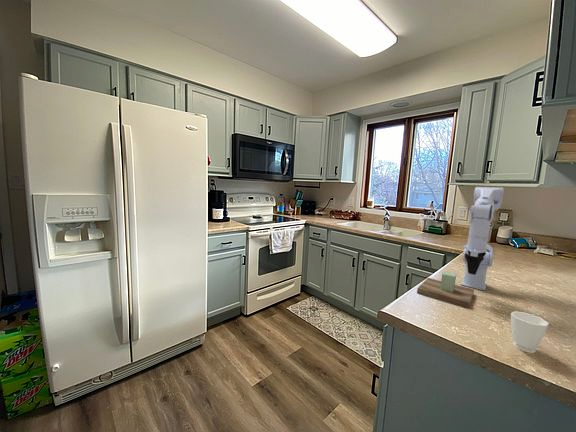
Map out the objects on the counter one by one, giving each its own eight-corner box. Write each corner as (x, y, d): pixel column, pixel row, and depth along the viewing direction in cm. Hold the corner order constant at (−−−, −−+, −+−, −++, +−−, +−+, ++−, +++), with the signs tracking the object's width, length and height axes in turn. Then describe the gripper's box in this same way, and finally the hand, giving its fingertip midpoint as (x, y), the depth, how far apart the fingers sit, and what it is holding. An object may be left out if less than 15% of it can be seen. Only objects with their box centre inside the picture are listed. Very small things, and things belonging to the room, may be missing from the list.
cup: (507, 348, 62) (513, 318, 61) (502, 330, 70) (507, 304, 69) (547, 361, 57) (553, 329, 56) (536, 340, 66) (542, 312, 65)
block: (442, 286, 96) (444, 271, 95) (454, 289, 93) (456, 274, 93) (440, 288, 93) (442, 273, 92) (452, 292, 90) (454, 276, 90)
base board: (427, 282, 105) (427, 277, 105) (473, 294, 94) (474, 289, 94) (417, 292, 93) (417, 287, 93) (468, 308, 82) (469, 302, 82)
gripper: (467, 232, 99) (462, 265, 100) (462, 237, 88) (457, 273, 90) (489, 235, 94) (484, 269, 96) (487, 240, 83) (481, 278, 85)
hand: (473, 271), depth 92 cm, fingers open, 7 cm apart
